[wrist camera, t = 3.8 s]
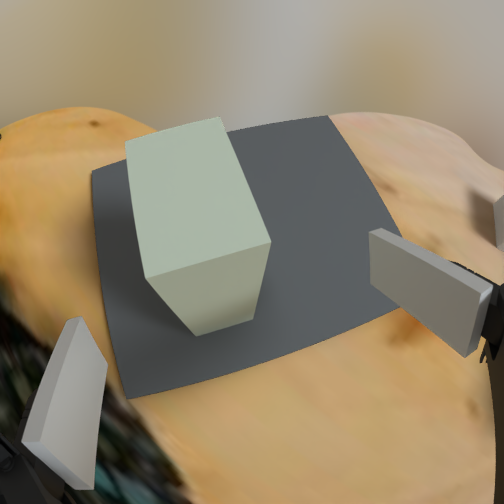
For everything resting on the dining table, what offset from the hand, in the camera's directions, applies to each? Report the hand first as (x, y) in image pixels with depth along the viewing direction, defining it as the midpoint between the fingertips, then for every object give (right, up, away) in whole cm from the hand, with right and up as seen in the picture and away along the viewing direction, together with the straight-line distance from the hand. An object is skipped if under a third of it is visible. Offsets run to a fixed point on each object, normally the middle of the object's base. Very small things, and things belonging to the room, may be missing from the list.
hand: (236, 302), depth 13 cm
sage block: (-2, 0, +9) cm, 9 cm away
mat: (0, +4, +11) cm, 12 cm away
